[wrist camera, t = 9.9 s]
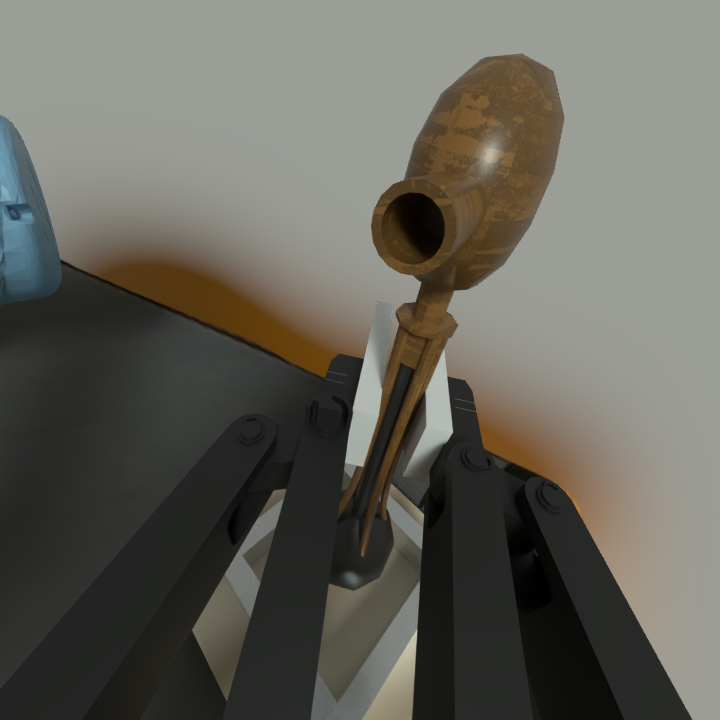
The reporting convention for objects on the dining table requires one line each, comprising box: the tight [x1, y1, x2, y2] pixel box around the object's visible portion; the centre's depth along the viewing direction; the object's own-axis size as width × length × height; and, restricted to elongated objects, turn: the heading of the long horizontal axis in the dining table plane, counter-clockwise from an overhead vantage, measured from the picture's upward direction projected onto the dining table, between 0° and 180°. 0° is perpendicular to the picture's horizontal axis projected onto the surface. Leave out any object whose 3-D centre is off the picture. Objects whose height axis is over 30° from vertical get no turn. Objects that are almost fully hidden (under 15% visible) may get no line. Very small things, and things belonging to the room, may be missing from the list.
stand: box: [192, 484, 424, 720], centre depth 21 cm, size 16×16×2 cm
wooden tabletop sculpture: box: [329, 54, 564, 591], centre depth 11 cm, size 6×5×20 cm
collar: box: [224, 463, 423, 720], centre depth 20 cm, size 11×11×3 cm
